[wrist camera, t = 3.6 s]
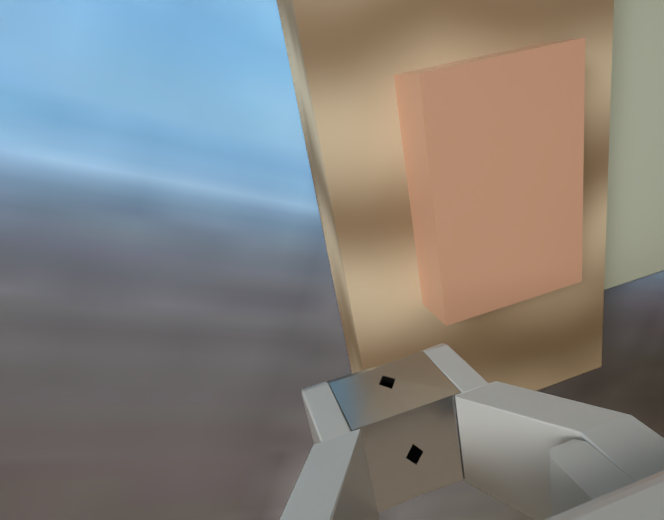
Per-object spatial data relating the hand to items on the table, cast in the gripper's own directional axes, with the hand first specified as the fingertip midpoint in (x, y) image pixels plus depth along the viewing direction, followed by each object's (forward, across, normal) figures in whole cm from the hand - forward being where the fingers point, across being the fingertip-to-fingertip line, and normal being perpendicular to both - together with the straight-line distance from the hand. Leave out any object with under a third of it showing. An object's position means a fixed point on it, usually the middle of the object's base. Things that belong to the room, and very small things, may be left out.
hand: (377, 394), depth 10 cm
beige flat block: (+11, -8, -1) cm, 14 cm away
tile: (+9, -8, -1) cm, 12 cm away
